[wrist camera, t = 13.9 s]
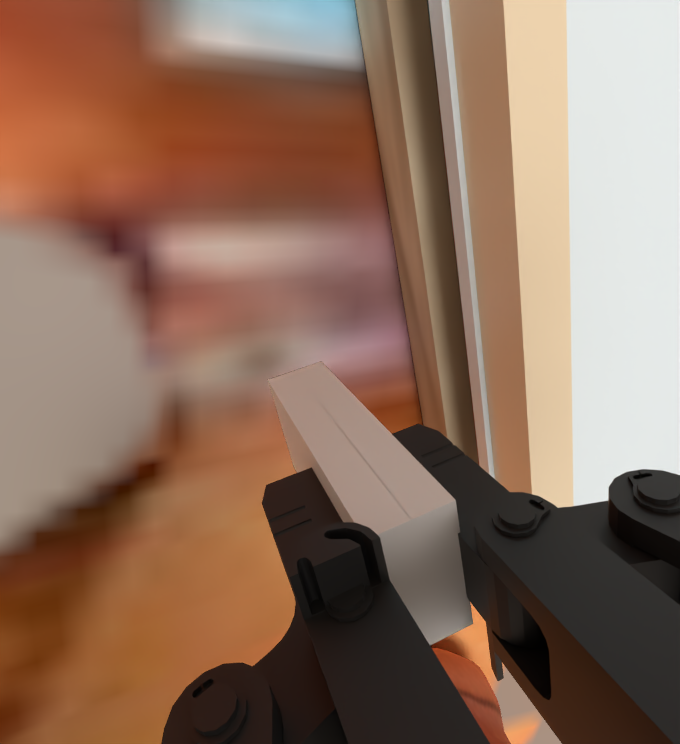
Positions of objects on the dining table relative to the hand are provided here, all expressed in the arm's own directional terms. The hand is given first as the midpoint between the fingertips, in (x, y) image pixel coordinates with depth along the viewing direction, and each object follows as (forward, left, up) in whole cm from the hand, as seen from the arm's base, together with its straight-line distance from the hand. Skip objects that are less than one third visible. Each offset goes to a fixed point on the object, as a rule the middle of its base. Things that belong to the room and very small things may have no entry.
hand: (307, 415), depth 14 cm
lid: (+12, 0, -1) cm, 12 cm away
